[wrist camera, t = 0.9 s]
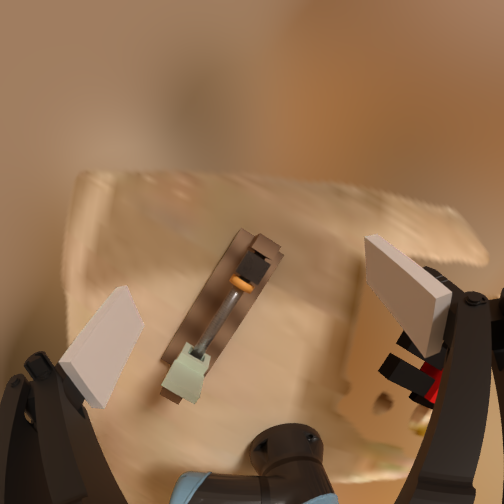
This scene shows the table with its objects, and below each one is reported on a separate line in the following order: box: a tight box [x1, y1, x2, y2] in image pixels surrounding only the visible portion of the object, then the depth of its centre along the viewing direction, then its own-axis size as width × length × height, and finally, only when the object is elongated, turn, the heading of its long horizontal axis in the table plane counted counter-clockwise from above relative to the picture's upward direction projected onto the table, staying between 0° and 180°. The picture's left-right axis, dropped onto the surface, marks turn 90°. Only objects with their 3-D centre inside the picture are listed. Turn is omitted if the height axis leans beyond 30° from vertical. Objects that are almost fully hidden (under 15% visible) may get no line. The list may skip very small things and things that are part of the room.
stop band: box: [229, 274, 255, 294], centre depth 35 cm, size 1×3×3 cm, turn 58°
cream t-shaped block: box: [161, 342, 211, 404], centre depth 32 cm, size 4×4×10 cm
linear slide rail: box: [160, 228, 284, 404], centre depth 39 cm, size 26×8×12 cm, turn 148°
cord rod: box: [190, 250, 271, 360], centre depth 35 cm, size 24×3×3 cm, turn 148°
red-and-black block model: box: [378, 331, 448, 409], centre depth 44 cm, size 15×8×25 cm
